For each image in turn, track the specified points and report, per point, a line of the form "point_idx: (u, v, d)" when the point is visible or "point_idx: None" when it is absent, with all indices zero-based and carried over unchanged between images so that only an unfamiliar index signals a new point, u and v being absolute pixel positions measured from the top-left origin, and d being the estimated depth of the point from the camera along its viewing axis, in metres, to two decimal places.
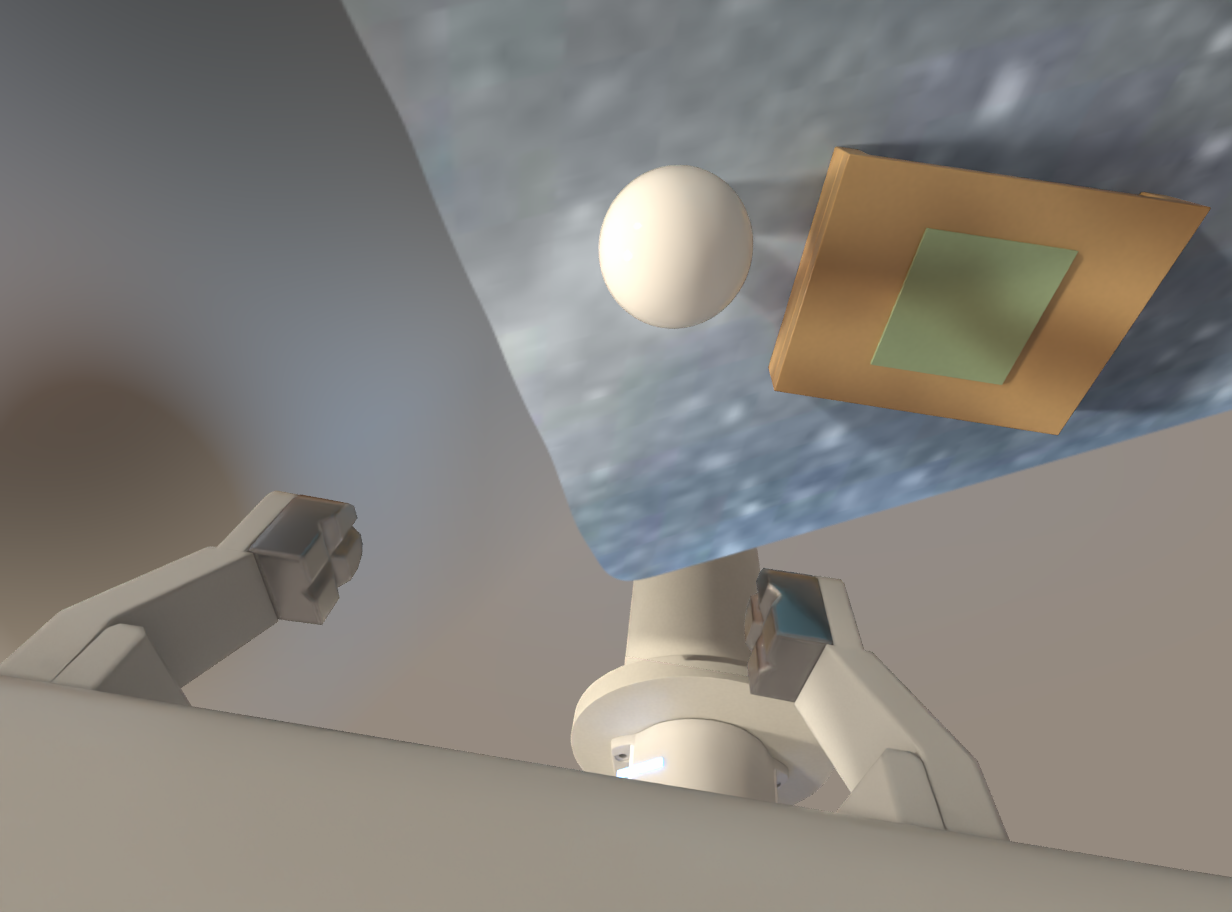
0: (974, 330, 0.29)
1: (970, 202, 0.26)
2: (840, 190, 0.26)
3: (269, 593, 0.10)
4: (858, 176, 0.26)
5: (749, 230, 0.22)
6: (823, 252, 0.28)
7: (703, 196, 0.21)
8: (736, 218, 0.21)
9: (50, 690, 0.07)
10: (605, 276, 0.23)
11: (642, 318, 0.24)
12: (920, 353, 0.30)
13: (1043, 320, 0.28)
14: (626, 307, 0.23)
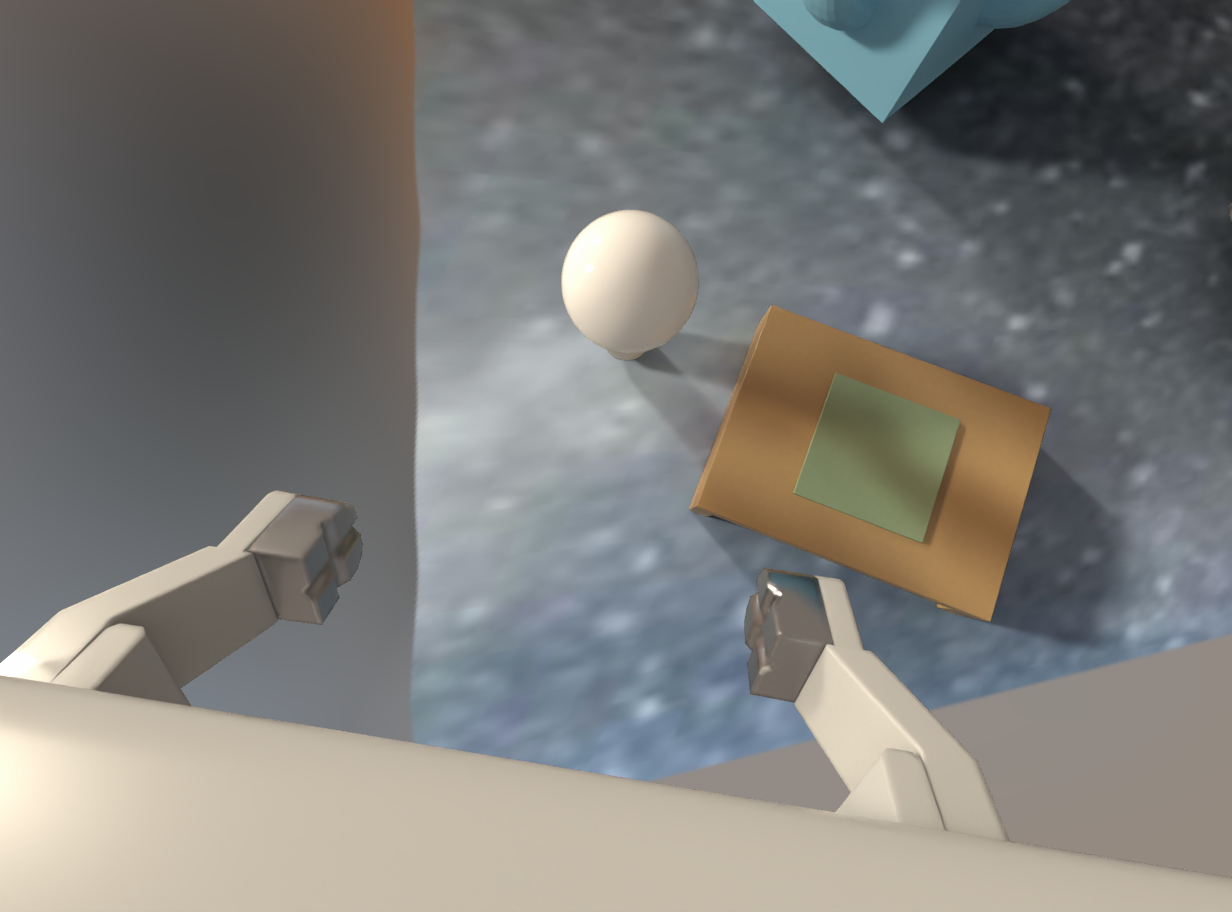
0: (887, 476, 0.30)
1: (867, 362, 0.31)
2: (764, 329, 0.31)
3: (269, 593, 0.10)
4: (778, 322, 0.31)
5: (697, 268, 0.26)
6: (750, 375, 0.31)
7: (665, 220, 0.25)
8: (688, 247, 0.25)
9: (50, 690, 0.07)
10: (566, 269, 0.25)
11: (591, 306, 0.24)
12: (840, 490, 0.30)
13: (946, 481, 0.30)
14: (578, 294, 0.25)
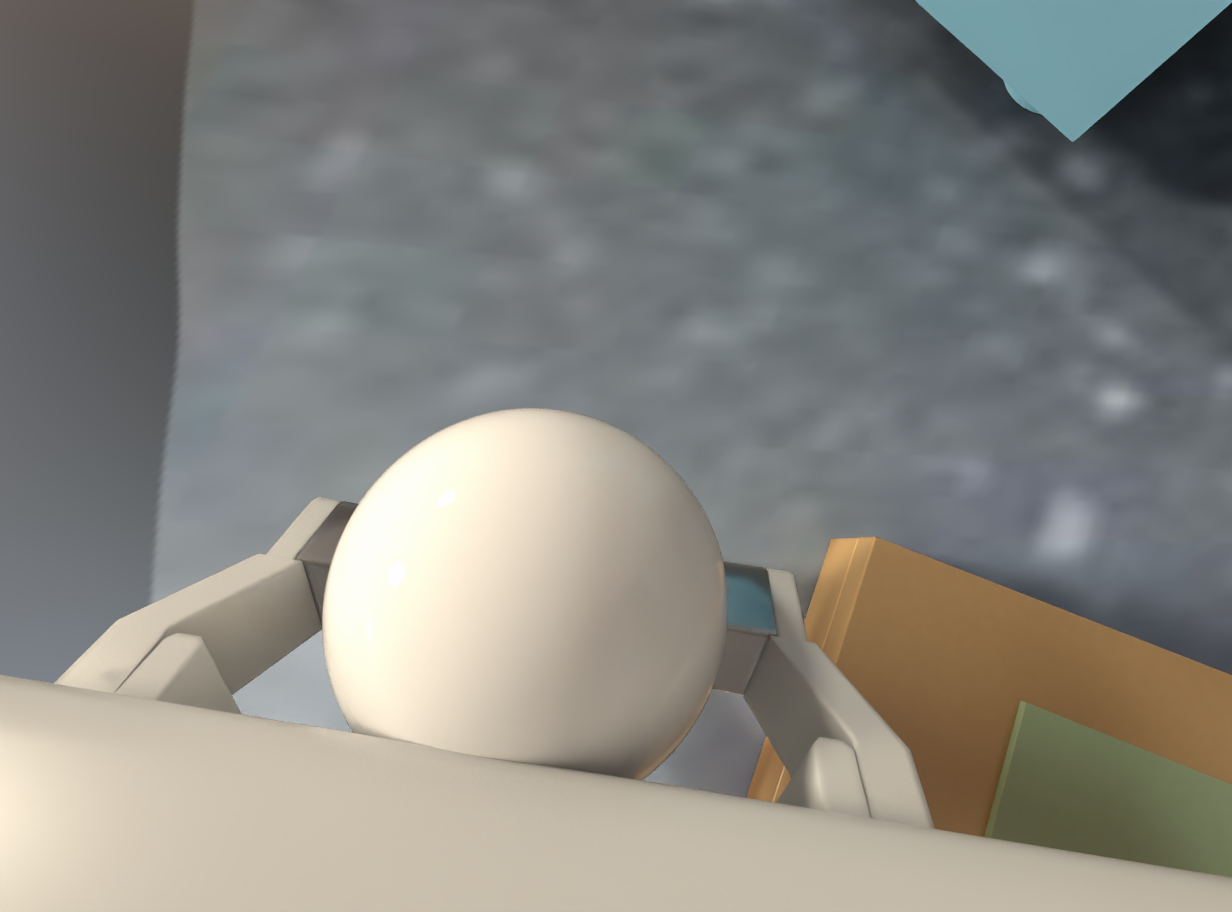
0: None
1: (1091, 671, 0.14)
2: (862, 594, 0.14)
3: (315, 600, 0.10)
4: (892, 577, 0.14)
5: (725, 582, 0.09)
6: None
7: (628, 457, 0.08)
8: (700, 535, 0.08)
9: (50, 690, 0.07)
10: None
11: None
12: None
13: None
14: (345, 713, 0.08)
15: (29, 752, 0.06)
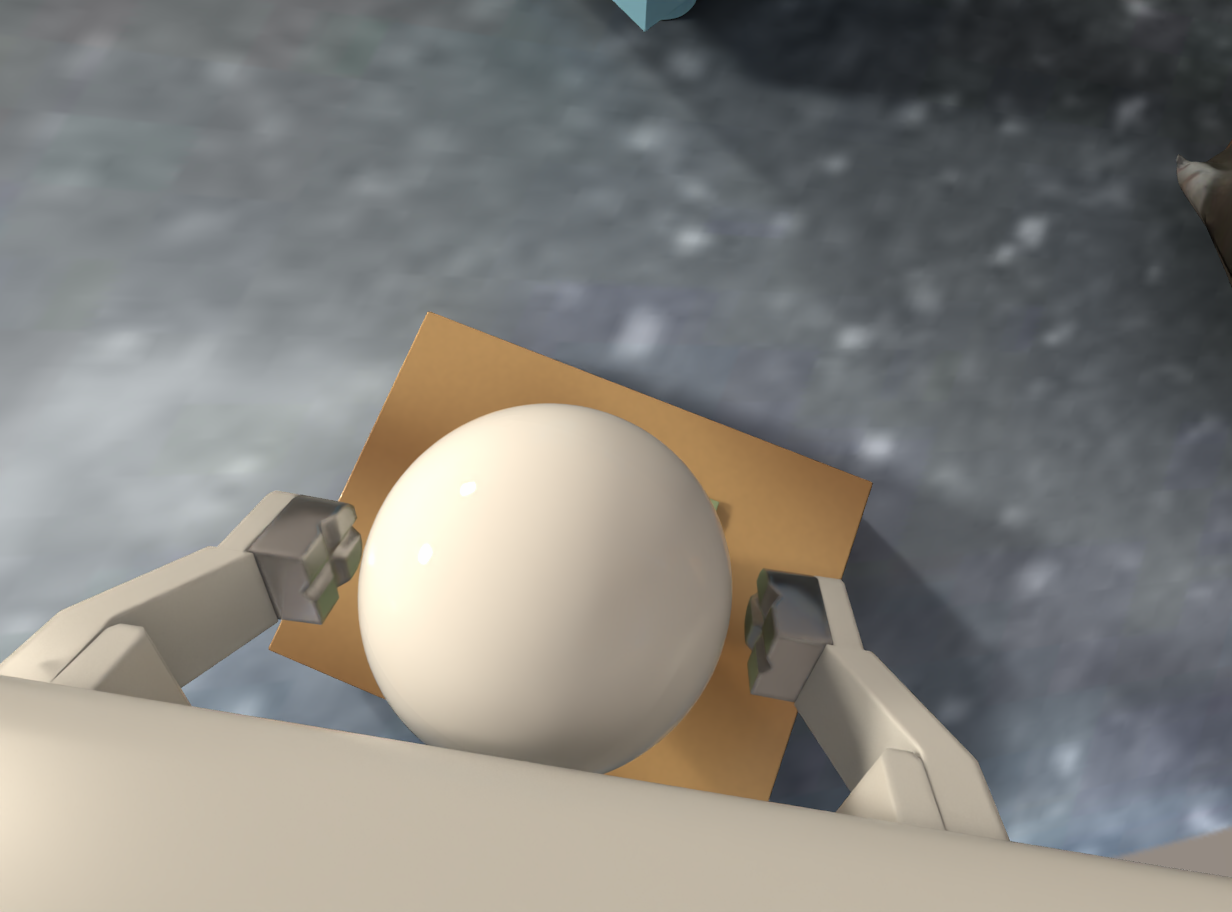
0: None
1: (576, 404, 0.19)
2: (412, 350, 0.19)
3: (269, 593, 0.10)
4: (436, 339, 0.19)
5: (730, 564, 0.09)
6: (381, 426, 0.19)
7: (640, 448, 0.09)
8: (707, 520, 0.09)
9: (50, 690, 0.07)
10: (358, 587, 0.09)
11: (414, 726, 0.08)
12: None
13: None
14: (381, 682, 0.08)
15: (30, 752, 0.06)
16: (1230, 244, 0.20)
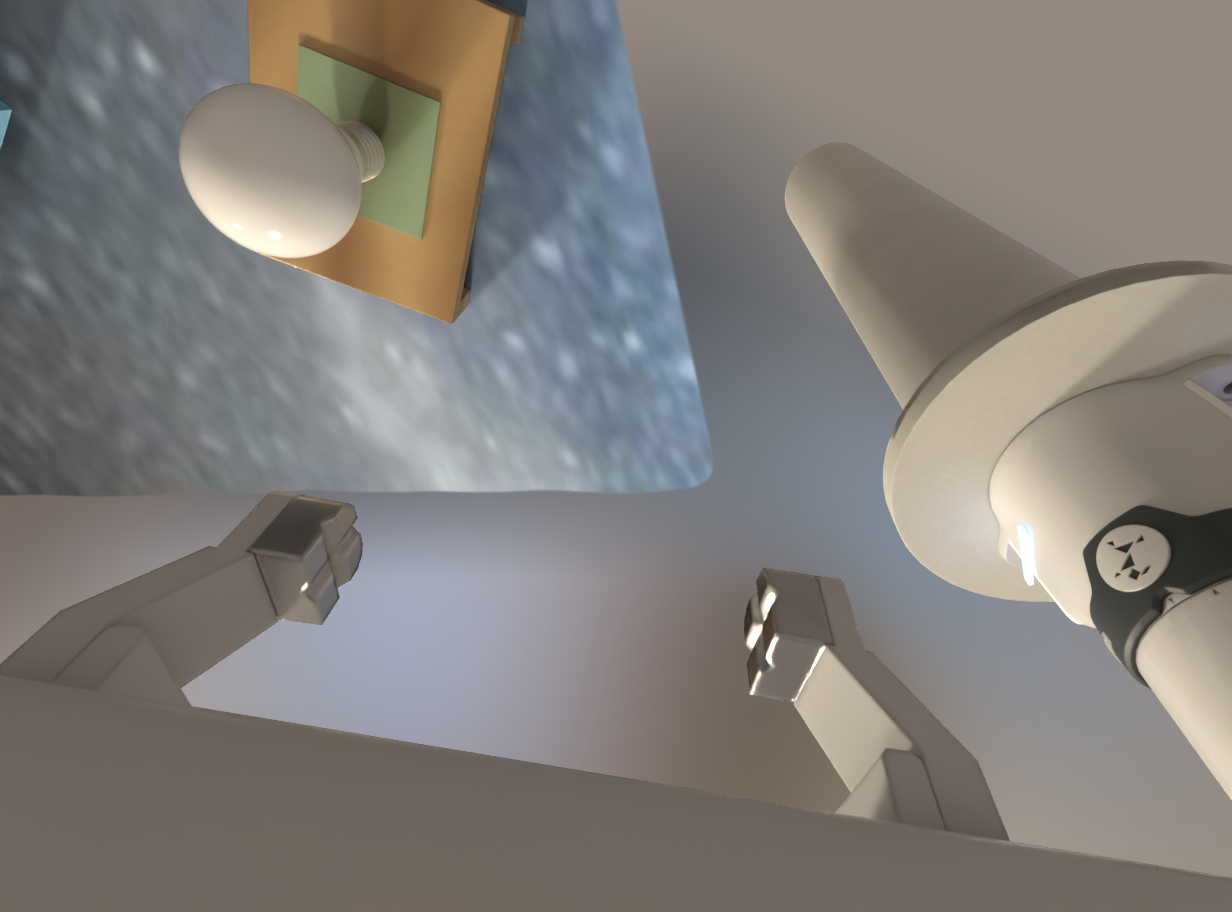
0: (381, 140, 0.29)
1: None
2: (281, 260, 0.34)
3: (269, 593, 0.10)
4: None
5: (221, 89, 0.21)
6: (327, 274, 0.34)
7: (179, 141, 0.21)
8: (198, 106, 0.21)
9: (50, 690, 0.07)
10: (282, 256, 0.24)
11: (309, 230, 0.23)
12: (408, 192, 0.31)
13: (370, 64, 0.28)
14: (302, 244, 0.23)
15: (29, 752, 0.06)
16: None
